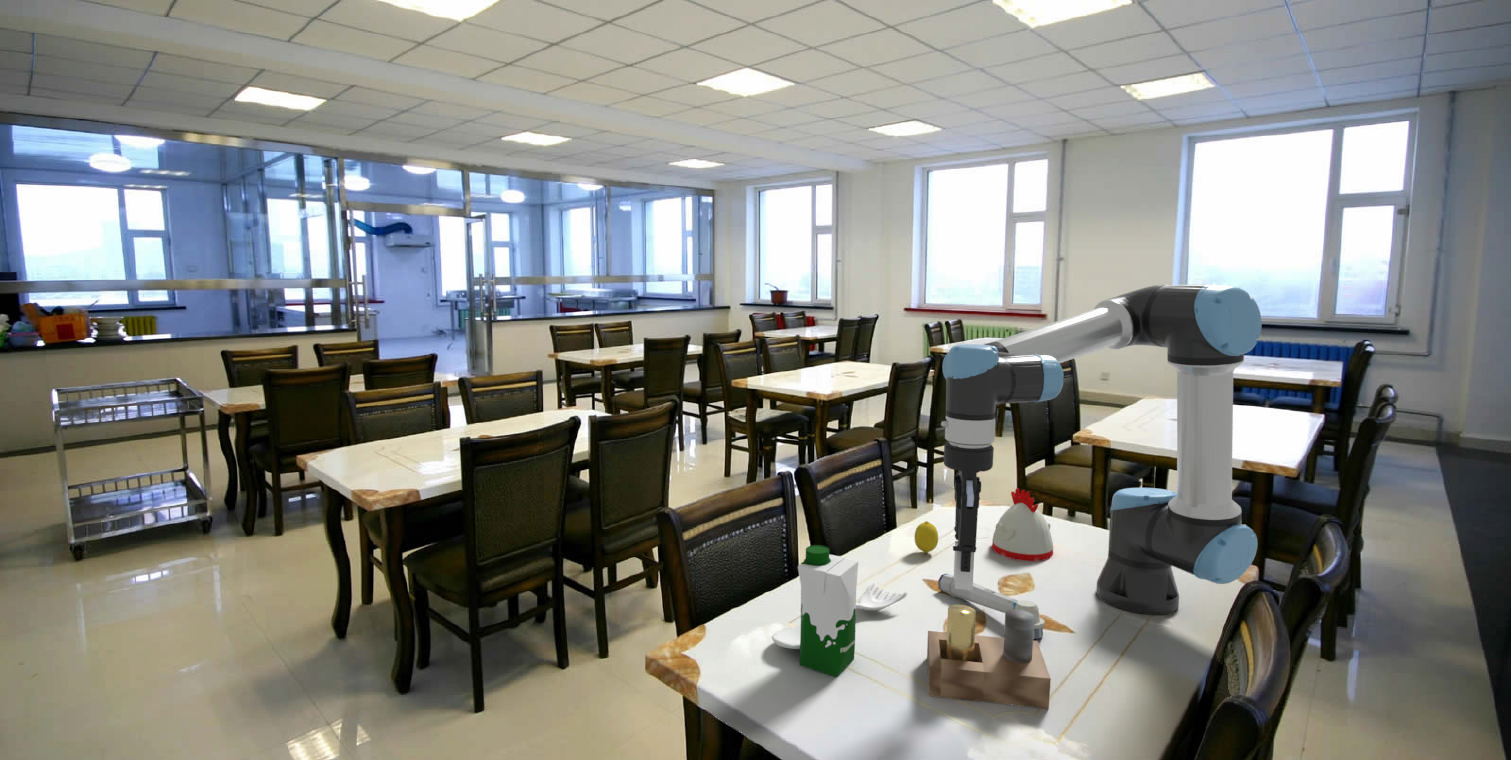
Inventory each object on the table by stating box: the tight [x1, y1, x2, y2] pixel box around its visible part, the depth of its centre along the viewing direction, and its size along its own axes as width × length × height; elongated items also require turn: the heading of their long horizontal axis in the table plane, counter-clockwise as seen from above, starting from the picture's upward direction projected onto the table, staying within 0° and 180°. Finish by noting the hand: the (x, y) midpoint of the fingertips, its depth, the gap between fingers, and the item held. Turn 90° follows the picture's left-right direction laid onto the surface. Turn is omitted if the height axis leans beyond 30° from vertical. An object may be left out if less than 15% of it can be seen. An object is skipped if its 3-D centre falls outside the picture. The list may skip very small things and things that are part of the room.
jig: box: [926, 609, 1052, 710], centre depth 121 cm, size 18×12×12 cm, turn 79°
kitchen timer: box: [991, 487, 1054, 562], centre depth 179 cm, size 14×14×15 cm
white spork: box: [771, 582, 908, 650], centre depth 140 cm, size 9×32×4 cm, turn 133°
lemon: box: [914, 520, 939, 555], centre depth 177 cm, size 6×6×8 cm
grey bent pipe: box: [937, 573, 1046, 640], centre depth 146 cm, size 5×7×25 cm
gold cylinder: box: [946, 604, 977, 662], centre depth 122 cm, size 4×4×12 cm
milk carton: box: [797, 544, 859, 678], centre depth 126 cm, size 9×9×20 cm
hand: (962, 584), depth 120 cm, fingers open, 3 cm apart
